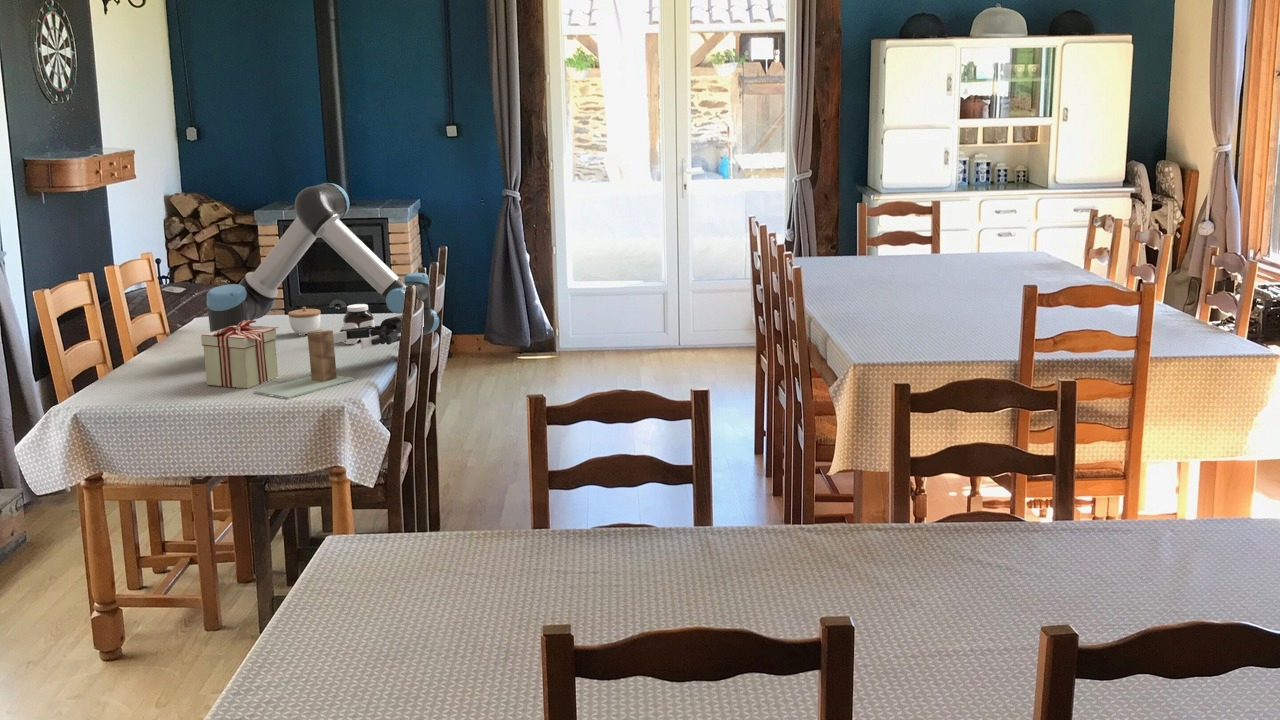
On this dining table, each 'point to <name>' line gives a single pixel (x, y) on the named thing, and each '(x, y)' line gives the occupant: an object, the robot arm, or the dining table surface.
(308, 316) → the lidded jar
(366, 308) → the spread jar
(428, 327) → the robot arm
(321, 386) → the mat
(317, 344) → the walnut block
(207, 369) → the gift box
